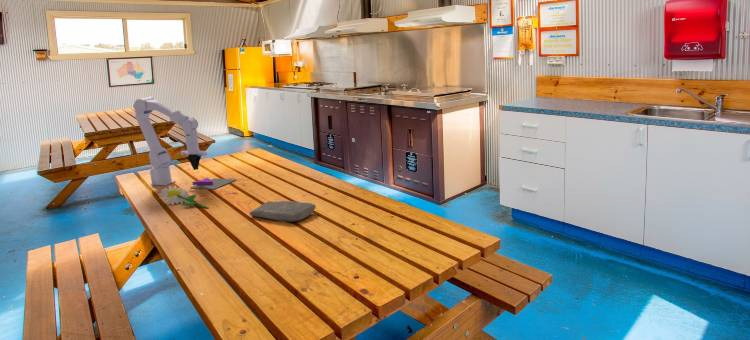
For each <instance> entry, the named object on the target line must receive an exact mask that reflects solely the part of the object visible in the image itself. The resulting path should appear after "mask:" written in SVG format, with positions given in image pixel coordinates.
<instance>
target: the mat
mask: <svg viewBox="0 0 750 340" xmlns="http://www.w3.org/2000/svg"><path fill="white" fill-rule="evenodd" d="M210 180H211V181H213V185H193V186H191V187H190V189H191V190H193V189H194V190H195V189H196V190H209V191H212V190H213V191H215V190H216V189H217V190H218V189H219V188H221V187H224V186H226V185H228V184H231V183H233V182H236V181H237V180H238V179H236V178H211V179H210Z"/></svg>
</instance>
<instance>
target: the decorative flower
mask: <svg viewBox="0 0 750 340" xmlns="http://www.w3.org/2000/svg"><path fill="white" fill-rule="evenodd" d="M188 194H189V191H186V189H182V187H181V186H180V187H178V186H177V185H174V186H171V185H169V186H168V187H163V189H161V190H160V192H159V193H158V195H160V196H159V199H163V200H162V202H165V201H166V205H167V206H168V205H170V204H171V205H172V206H174V205H175V204H177V205H179V203H180V204H182V206H185V207H186V206H188V207H189V206H193V205H197V206H199V207H202V208H204V209H207V210H208V209H210V208H209V207H208V206H206V205H203V204H201V203H199V202H196V201H194V200H195V199H196V198H197V195H195V194H192V195H188Z"/></svg>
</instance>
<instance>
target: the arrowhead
mask: <svg viewBox="0 0 750 340" xmlns="http://www.w3.org/2000/svg"><path fill="white" fill-rule="evenodd" d="M192 185H193V186H196V185H213V181H211V179H210V178H208V177H205V178H204V179H201V180H196V181H192Z"/></svg>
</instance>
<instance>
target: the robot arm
mask: <svg viewBox="0 0 750 340" xmlns="http://www.w3.org/2000/svg"><path fill="white" fill-rule="evenodd" d="M132 106H133V109H134V111H135V112H134V113H135V119H136V121H137V123H138V126H139V128H140V130H141V132H142V135H143V137H144V139H145V142H146V143H147V145H148V147H149V153H148V157H149V164H150V166H152V167H151V168H150V170H149V171H150V172H149V174H150V181H151V183H150V185H151V186H167V185H171V184H173V183H175V182H176V180H172V173H171V169H170V167H171V166H170V165H171V163H172V157H171V154H170V153H169V152H168V151H167V149H166V148H165V147H163V146H162V145H161V142H160V140H159V138H158V136H157V133H156V131H155V129H154V127H153V125H152V122H151V120H150V118H149V117H150V115H151V114H152V112H153V111H157V112H159V113H161V114H162V115H165V116H167V117H168V118H169V120H170V121H171V122H173V123H174V124H176V125H178V126H179V127H181V129H182V130H183V134H184V138H185V139H184V140H185V145H186V150H182V151H180V156H186V159H187V160H188V162H189V163H190V165H191V168H192V169H193V171H196V170H198V169H199V167H200V166H199V164H200V161H201V158H202V157H206V156H207V154H208V153H207V151H205V150H200V145H199V139H198V131H197V128H198V127H199V121H198V120H197V119H195V117H190V116H189V115H186V114H183V113H182V112H181V110H172V109H170V108H169V107H167V105H164V104H163V103H161V102H160V101H159V100H158V99H156V98H154V97H152V96H148V97H143V98H137V99H136V100H135V101H134V103H133V105H132Z"/></svg>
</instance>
